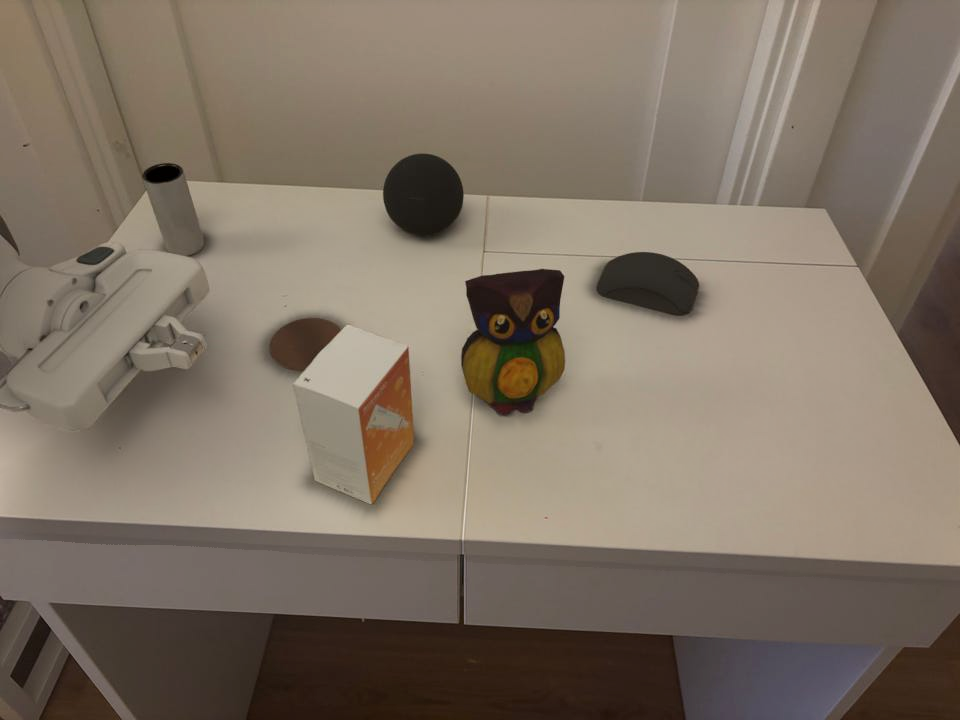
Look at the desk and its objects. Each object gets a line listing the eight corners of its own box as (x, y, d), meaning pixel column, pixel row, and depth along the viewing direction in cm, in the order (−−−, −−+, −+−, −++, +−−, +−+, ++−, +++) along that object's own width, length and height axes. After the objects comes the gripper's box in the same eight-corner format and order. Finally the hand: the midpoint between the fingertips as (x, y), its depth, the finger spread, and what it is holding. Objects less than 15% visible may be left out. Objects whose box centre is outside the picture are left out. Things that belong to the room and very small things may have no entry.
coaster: (301, 382, 77) (301, 380, 76) (254, 345, 80) (254, 343, 80) (360, 343, 81) (360, 341, 81) (313, 310, 85) (312, 308, 84)
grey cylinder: (176, 233, 95) (152, 160, 87) (210, 237, 94) (189, 164, 87) (160, 255, 91) (134, 181, 84) (195, 258, 91) (172, 184, 84)
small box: (372, 507, 66) (358, 409, 57) (312, 481, 68) (289, 383, 59) (417, 443, 71) (410, 344, 62) (360, 420, 73) (345, 321, 64)
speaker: (407, 260, 91) (402, 189, 84) (373, 219, 97) (366, 150, 90) (477, 237, 95) (478, 167, 88) (440, 199, 101) (439, 131, 94)
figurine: (468, 429, 73) (469, 313, 62) (456, 378, 77) (455, 262, 67) (565, 415, 74) (582, 300, 63) (547, 366, 79) (560, 251, 68)
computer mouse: (689, 319, 85) (697, 292, 82) (593, 294, 87) (597, 267, 85) (699, 286, 89) (706, 259, 86) (607, 264, 92) (612, 237, 89)
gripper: (-42, 373, 59) (110, 413, 56) (119, 231, 73) (247, 257, 70) (-6, 426, 63) (136, 465, 60) (139, 282, 77) (259, 308, 74)
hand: (196, 352), depth 65 cm, fingers closed
